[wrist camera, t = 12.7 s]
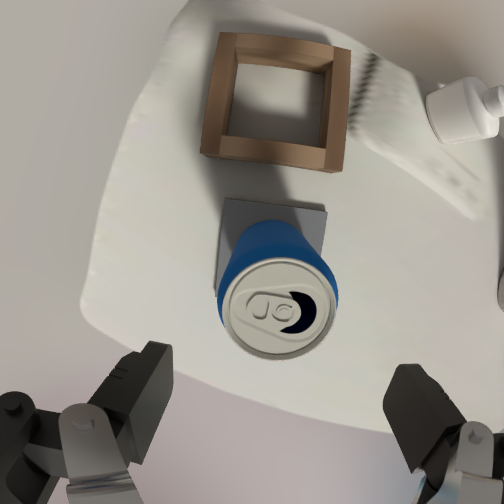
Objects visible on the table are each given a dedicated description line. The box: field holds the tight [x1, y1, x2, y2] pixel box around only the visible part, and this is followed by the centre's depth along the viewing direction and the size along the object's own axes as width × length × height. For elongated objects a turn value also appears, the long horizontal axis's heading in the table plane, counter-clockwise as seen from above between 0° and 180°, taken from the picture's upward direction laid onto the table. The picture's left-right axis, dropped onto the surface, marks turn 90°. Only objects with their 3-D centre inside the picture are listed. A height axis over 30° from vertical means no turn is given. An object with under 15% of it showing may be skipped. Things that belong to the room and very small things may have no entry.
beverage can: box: [217, 220, 338, 361], centre depth 19 cm, size 6×6×12 cm
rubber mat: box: [215, 198, 328, 297], centre depth 26 cm, size 9×9×1 cm
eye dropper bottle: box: [426, 77, 504, 145], centre depth 16 cm, size 4×6×12 cm
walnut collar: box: [200, 32, 351, 173], centre depth 21 cm, size 11×11×4 cm
